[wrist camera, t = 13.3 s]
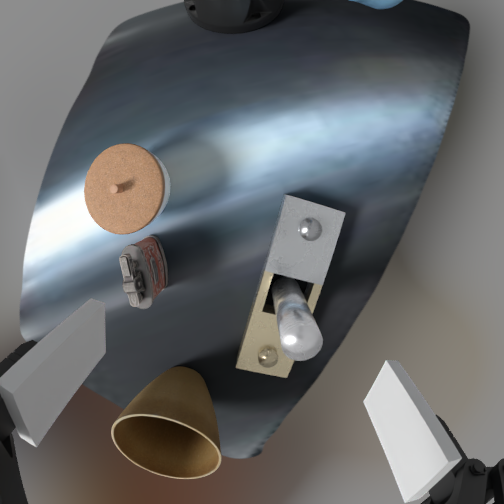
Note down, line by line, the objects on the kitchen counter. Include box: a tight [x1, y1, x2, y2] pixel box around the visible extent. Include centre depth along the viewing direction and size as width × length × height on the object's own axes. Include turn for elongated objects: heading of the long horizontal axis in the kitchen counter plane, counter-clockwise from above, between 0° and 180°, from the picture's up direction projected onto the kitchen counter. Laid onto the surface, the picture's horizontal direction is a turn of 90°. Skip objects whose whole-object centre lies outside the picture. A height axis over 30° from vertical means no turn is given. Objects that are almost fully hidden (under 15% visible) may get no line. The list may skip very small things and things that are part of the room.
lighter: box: [119, 235, 168, 309], centre depth 35 cm, size 8×3×10 cm, turn 8°
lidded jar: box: [84, 143, 171, 234], centre depth 33 cm, size 11×11×9 cm
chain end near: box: [253, 194, 345, 304], centre depth 38 cm, size 16×8×4 cm, turn 165°
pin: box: [272, 277, 323, 361], centre depth 33 cm, size 4×4×15 cm
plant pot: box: [111, 366, 221, 479], centre depth 37 cm, size 15×15×16 cm
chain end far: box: [236, 269, 323, 378], centre depth 40 cm, size 16×8×4 cm, turn 165°
